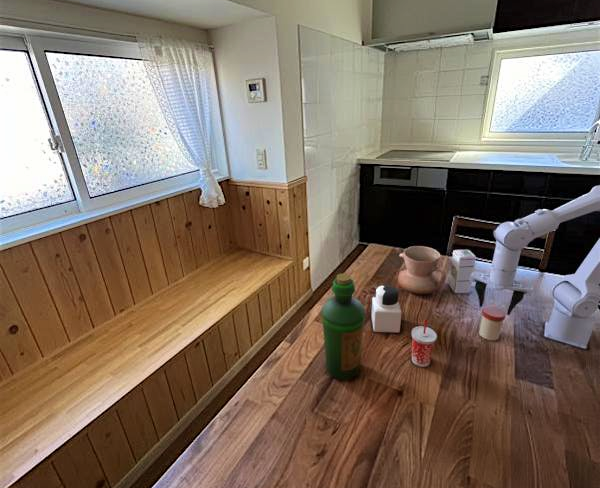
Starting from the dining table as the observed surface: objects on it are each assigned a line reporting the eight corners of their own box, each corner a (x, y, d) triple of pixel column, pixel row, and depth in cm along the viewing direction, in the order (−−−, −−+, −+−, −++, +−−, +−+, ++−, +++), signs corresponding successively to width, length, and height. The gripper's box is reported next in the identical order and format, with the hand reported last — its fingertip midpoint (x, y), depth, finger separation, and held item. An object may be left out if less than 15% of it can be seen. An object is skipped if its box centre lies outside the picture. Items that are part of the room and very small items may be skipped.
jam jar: (499, 332, 99) (505, 311, 96) (498, 342, 95) (503, 321, 92) (480, 326, 102) (484, 305, 98) (477, 336, 98) (482, 315, 95)
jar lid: (479, 316, 95) (480, 312, 95) (484, 307, 99) (485, 302, 99) (502, 324, 92) (503, 319, 91) (506, 314, 96) (507, 309, 95)
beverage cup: (412, 369, 88) (417, 325, 82) (406, 352, 93) (410, 310, 87) (436, 369, 87) (442, 325, 82) (428, 352, 93) (434, 310, 87)
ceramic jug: (386, 285, 125) (388, 251, 119) (409, 272, 133) (413, 240, 127) (430, 307, 112) (435, 269, 106) (453, 290, 120) (458, 255, 114)
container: (395, 317, 108) (398, 282, 102) (399, 333, 101) (403, 296, 95) (371, 316, 108) (372, 282, 103) (373, 332, 101) (375, 296, 96)
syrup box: (470, 293, 118) (477, 256, 112) (453, 293, 118) (459, 256, 112) (463, 284, 123) (470, 249, 117) (447, 285, 123) (452, 249, 118)
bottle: (362, 387, 83) (366, 291, 72) (319, 381, 85) (317, 287, 74) (363, 356, 93) (367, 267, 81) (325, 352, 95) (323, 264, 83)
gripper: (471, 266, 90) (463, 307, 96) (535, 280, 82) (523, 325, 88) (476, 255, 95) (469, 296, 101) (537, 268, 87) (526, 311, 93)
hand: (494, 309), depth 95 cm, fingers open, 6 cm apart
